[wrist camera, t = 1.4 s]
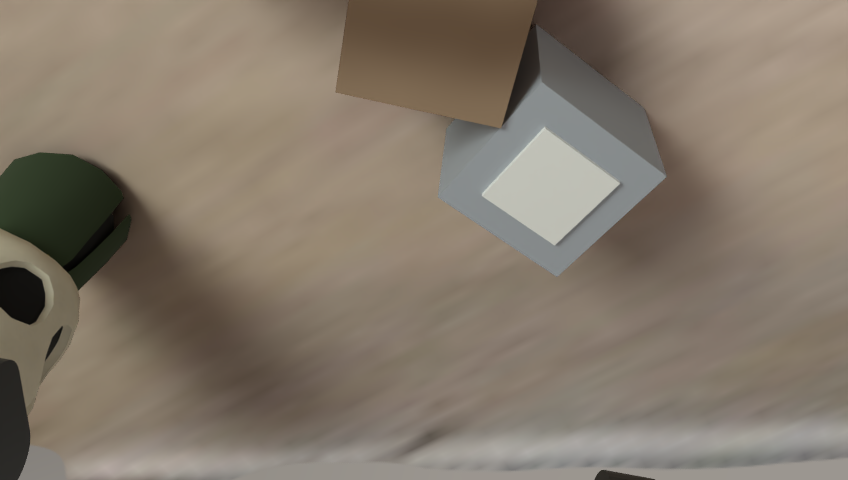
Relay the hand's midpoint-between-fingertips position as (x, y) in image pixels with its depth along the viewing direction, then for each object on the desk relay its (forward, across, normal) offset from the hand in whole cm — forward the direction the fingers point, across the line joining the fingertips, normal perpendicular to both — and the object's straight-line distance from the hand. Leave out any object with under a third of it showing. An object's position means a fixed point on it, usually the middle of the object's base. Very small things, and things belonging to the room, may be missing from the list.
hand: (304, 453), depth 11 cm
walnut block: (+24, -1, +1) cm, 25 cm away
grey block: (+24, -6, +6) cm, 26 cm away
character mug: (+24, +15, +15) cm, 33 cm away
